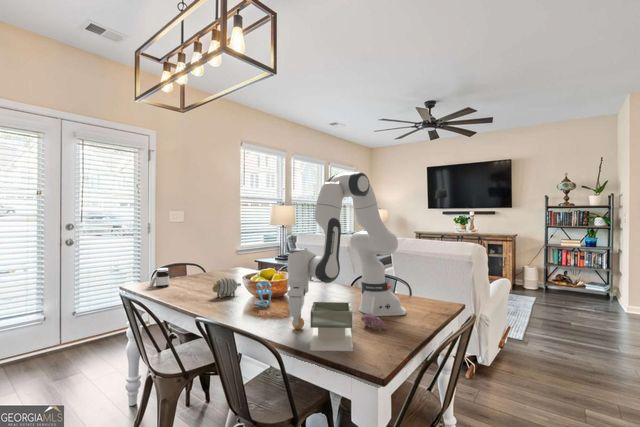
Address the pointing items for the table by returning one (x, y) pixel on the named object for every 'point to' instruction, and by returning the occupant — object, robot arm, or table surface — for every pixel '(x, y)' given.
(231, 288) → the toy sheep
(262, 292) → the light blue lumpy piece
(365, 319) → the purple grapes
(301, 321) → the ball
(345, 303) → the green open box
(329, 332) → the white stand
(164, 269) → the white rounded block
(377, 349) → the table surface
